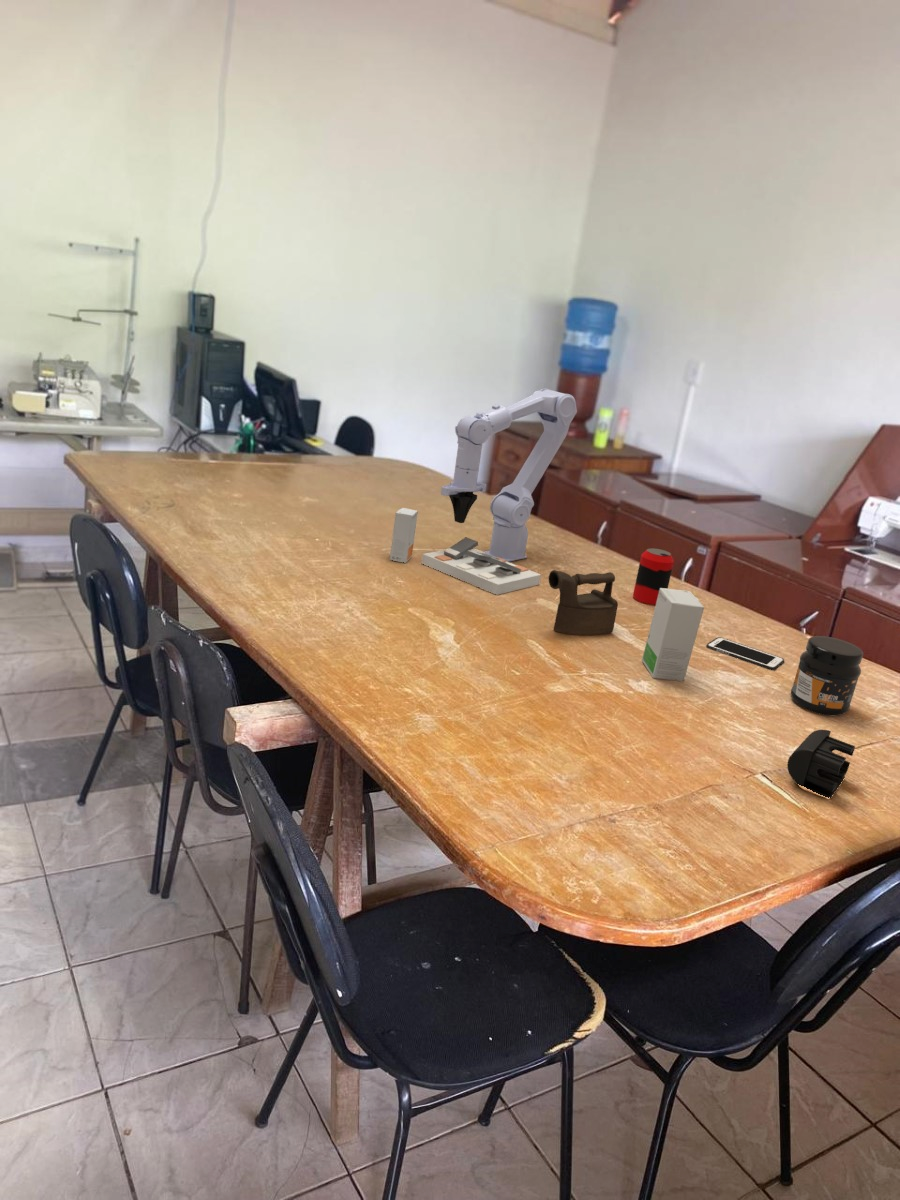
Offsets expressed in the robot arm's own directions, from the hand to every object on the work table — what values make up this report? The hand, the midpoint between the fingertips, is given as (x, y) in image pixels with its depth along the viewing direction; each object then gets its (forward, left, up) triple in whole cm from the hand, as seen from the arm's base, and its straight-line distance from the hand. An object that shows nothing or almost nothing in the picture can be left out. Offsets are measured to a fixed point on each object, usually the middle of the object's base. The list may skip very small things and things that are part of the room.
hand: (459, 521), depth 219 cm
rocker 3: (+2, +18, -6) cm, 19 cm away
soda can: (-23, +43, -10) cm, 49 cm away
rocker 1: (+2, +4, -6) cm, 7 cm away
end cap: (+29, +104, -10) cm, 108 cm away
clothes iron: (+10, +45, -10) cm, 47 cm away
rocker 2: (+2, +11, -6) cm, 12 cm away
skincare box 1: (+12, -6, -10) cm, 17 cm away
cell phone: (-12, +73, -10) cm, 74 cm away
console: (+2, +11, -10) cm, 15 cm away
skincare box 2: (+13, +68, -10) cm, 70 cm away
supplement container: (-1, +93, -10) cm, 93 cm away
